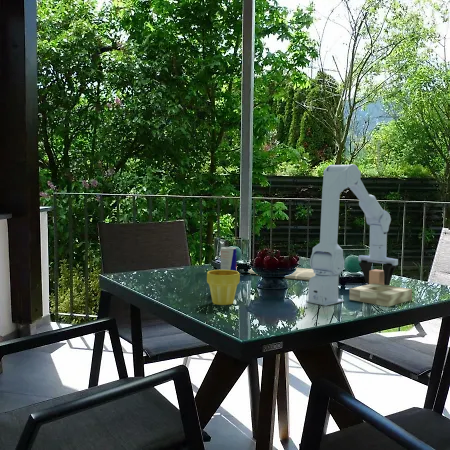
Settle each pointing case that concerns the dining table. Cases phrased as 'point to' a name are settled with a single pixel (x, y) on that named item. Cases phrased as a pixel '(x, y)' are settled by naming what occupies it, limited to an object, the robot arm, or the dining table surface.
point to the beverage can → (228, 258)
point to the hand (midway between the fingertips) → (377, 283)
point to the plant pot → (223, 285)
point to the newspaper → (297, 274)
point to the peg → (376, 276)
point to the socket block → (380, 294)
